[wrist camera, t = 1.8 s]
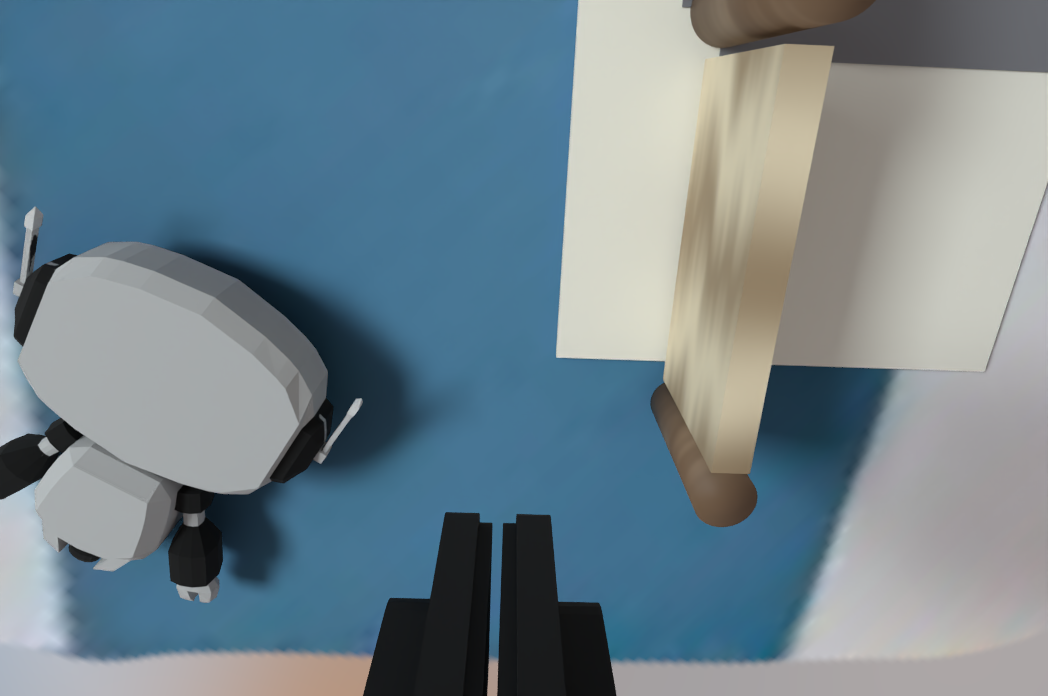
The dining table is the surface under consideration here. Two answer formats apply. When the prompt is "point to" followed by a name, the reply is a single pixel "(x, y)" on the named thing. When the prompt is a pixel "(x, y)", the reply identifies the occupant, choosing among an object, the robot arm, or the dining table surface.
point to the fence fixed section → (766, 18)
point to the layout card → (819, 181)
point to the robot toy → (157, 403)
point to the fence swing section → (736, 265)
